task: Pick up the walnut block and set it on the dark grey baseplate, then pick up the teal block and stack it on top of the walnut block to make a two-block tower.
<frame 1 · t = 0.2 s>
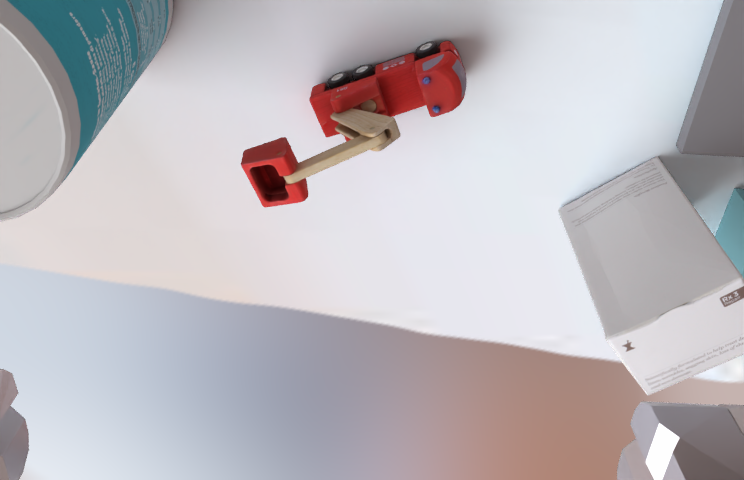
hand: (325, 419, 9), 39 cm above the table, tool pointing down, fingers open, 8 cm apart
skincare box: (622, 204, 53), on the table
toy fire truck: (363, 87, 48), on the table
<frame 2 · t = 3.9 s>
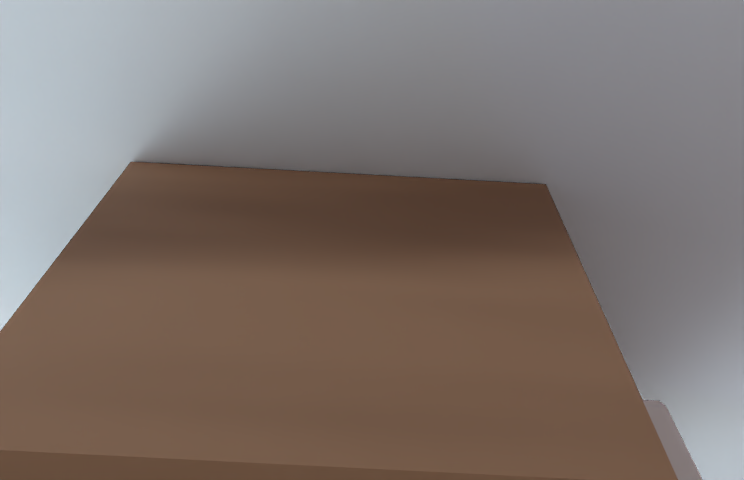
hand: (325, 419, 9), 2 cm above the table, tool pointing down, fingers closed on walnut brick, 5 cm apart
walnut brick: (333, 338, 11), on the table, touching gripper
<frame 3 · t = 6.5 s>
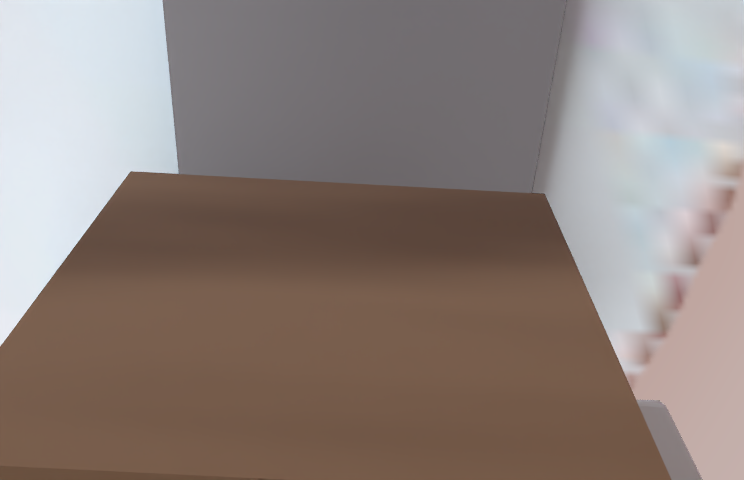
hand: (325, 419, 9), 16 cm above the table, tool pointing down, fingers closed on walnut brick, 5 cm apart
baseplate: (361, 64, 23), on the table
walnut brick: (333, 346, 11), point 15 cm above the table, touching gripper
when the fingers open (4 cm above the table, at t = 9.0 s): walnut brick drops 1 cm, resting on baseplate.
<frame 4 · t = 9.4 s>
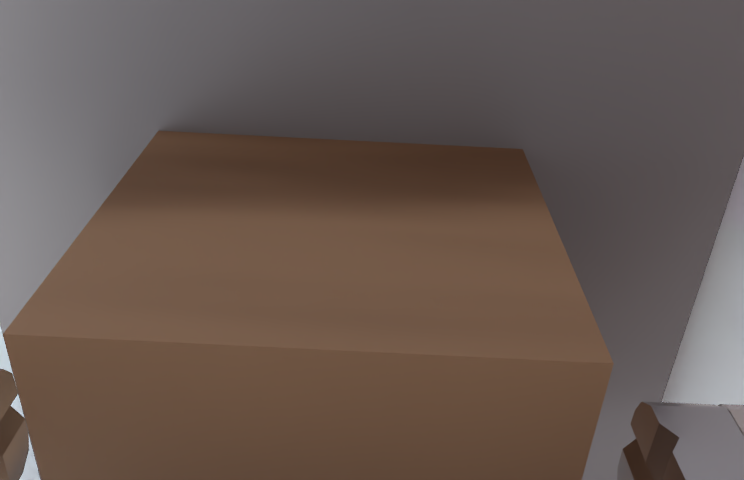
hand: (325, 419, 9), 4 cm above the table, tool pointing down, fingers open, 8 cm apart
baseplate: (344, 254, 13), on the table
walnut brick: (336, 291, 12), point 1 cm above the table, touching baseplate
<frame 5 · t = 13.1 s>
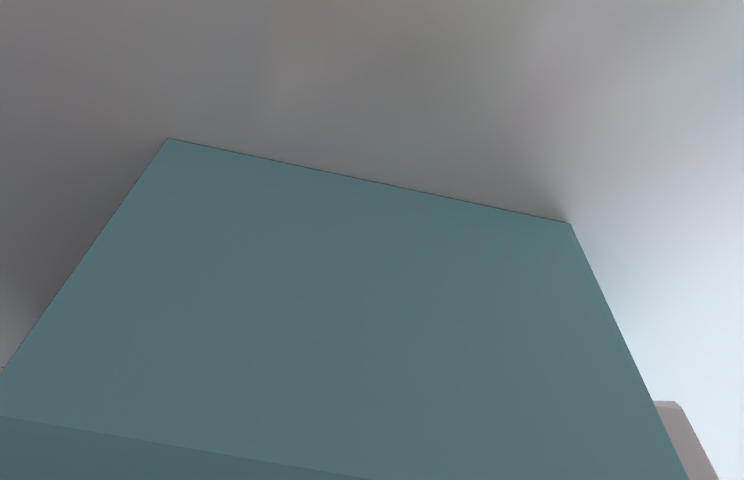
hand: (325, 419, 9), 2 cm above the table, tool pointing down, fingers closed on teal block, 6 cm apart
teal block: (334, 341, 11), on the table, touching gripper
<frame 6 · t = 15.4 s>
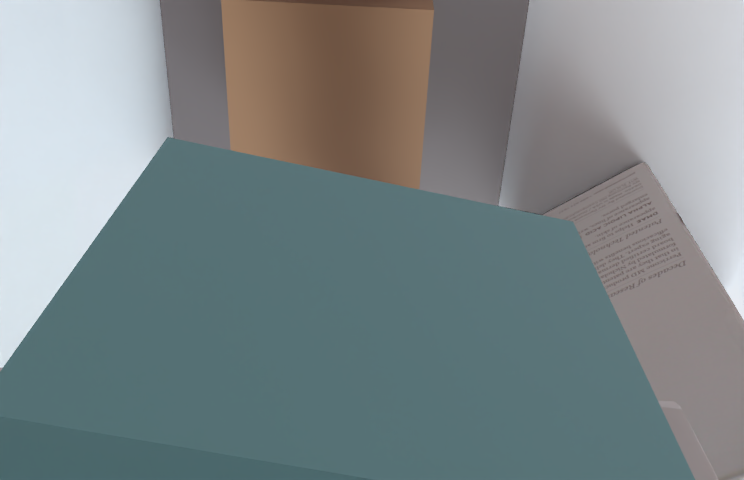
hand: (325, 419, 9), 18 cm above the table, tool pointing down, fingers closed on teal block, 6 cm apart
skincare box: (611, 262, 29), on the table
baseplate: (343, 44, 25), on the table
teal block: (336, 341, 11), point 16 cm above the table, touching gripper
walnut brick: (341, 56, 24), point 1 cm above the table, touching baseplate
when the fingers open (9 cm above the table, at t = 17.9 s): teal block drops 1 cm, resting on walnut brick.
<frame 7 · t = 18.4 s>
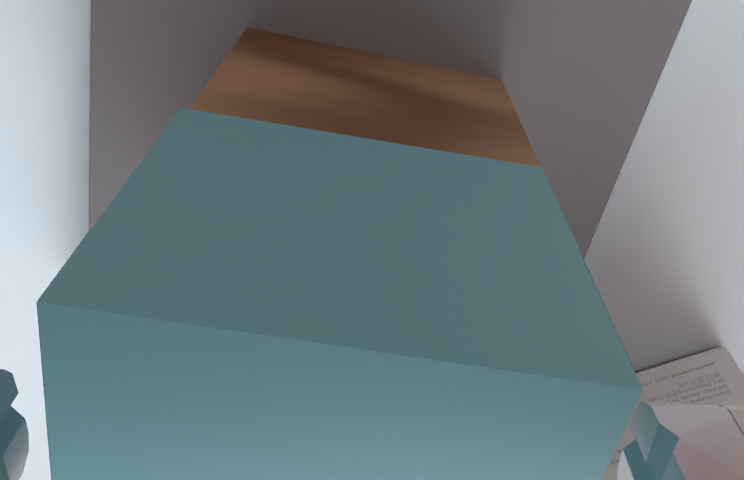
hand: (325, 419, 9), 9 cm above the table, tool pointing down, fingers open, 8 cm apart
skincare box: (650, 452, 23), on the table
baseplate: (355, 147, 17), on the table
teal block: (338, 287, 12), point 6 cm above the table, touching walnut brick
walnut brick: (352, 170, 16), point 1 cm above the table, touching baseplate, teal block
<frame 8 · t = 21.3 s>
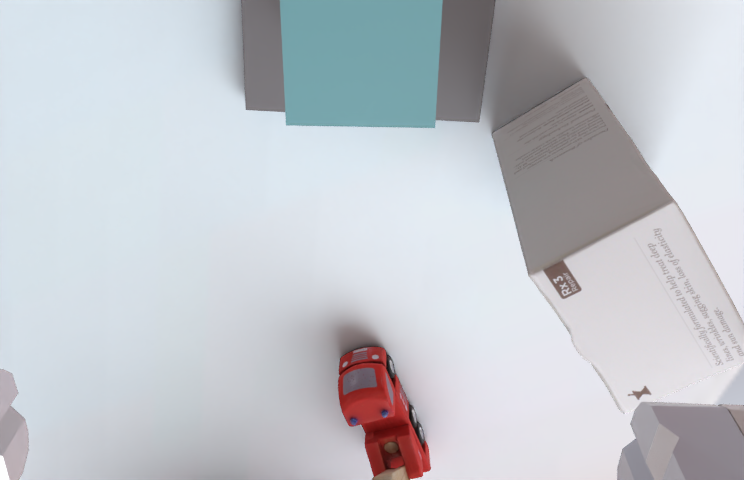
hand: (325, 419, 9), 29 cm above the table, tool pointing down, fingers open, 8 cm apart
skincare box: (565, 158, 39), on the table
toy fire truck: (393, 416, 49), on the table
teal block: (364, 19, 29), point 6 cm above the table, touching walnut brick
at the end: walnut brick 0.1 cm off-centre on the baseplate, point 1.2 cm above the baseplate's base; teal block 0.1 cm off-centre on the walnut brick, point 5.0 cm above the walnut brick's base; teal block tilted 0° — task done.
